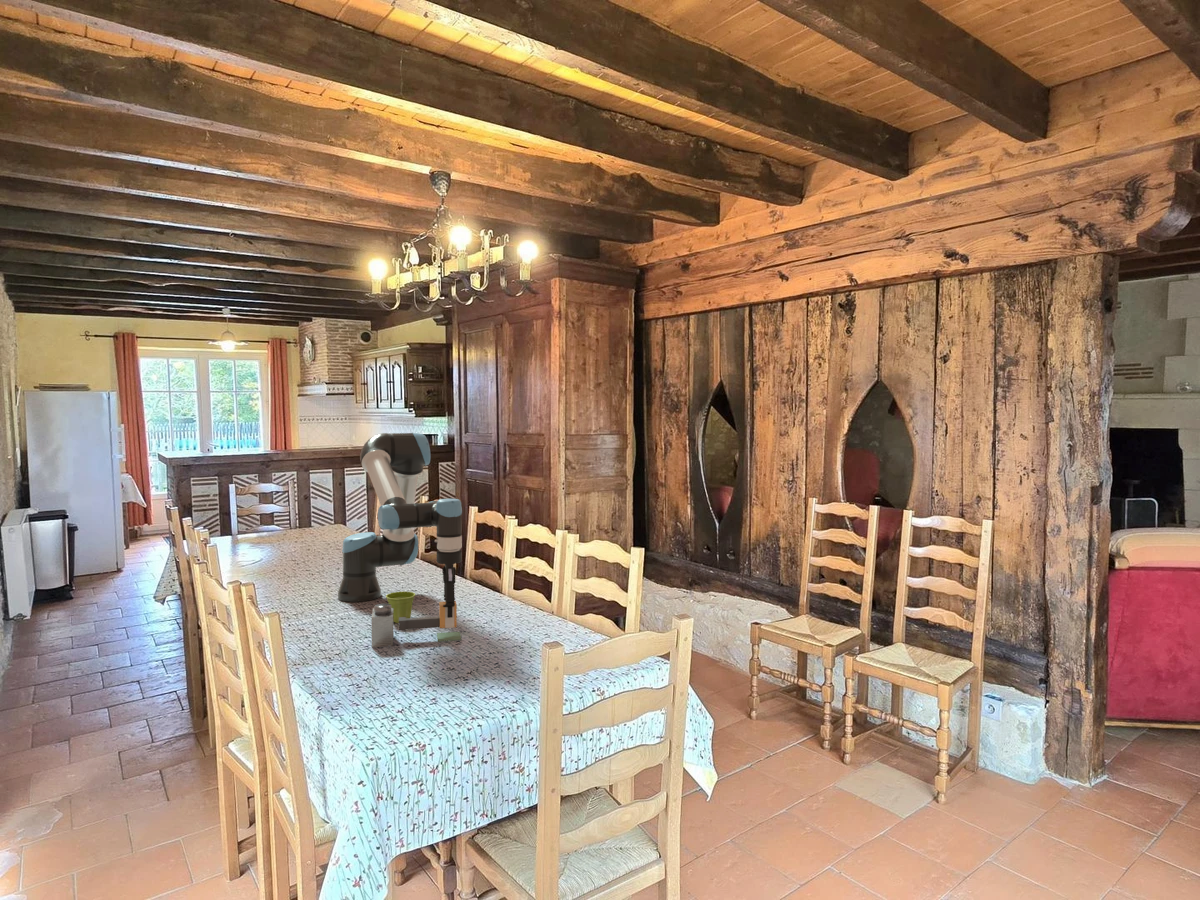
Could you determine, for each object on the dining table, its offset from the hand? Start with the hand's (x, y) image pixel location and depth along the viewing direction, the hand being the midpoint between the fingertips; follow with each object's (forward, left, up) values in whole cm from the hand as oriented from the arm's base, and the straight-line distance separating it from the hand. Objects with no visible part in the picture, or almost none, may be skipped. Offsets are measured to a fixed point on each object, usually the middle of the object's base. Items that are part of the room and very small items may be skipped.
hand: (449, 624), depth 218 cm
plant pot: (-21, -15, -4) cm, 26 cm away
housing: (0, -20, -4) cm, 20 cm away
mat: (0, 0, -4) cm, 4 cm away
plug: (0, -6, 0) cm, 6 cm away
